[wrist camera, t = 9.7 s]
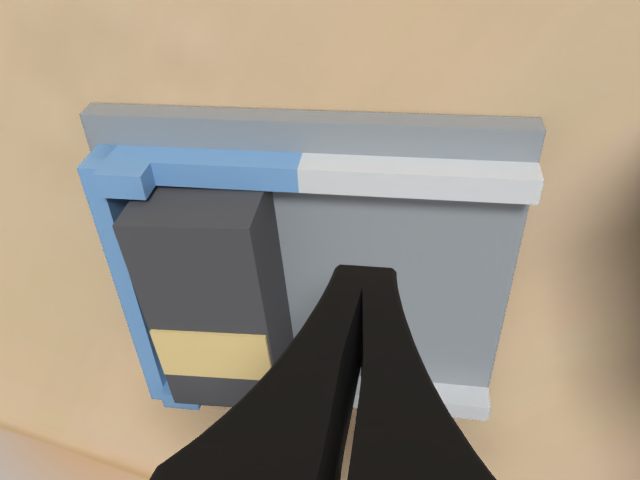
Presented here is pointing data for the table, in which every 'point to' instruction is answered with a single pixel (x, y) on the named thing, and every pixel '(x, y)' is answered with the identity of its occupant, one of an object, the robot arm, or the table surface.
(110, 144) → the tray
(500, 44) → the table surface
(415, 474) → the robot arm
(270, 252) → the block
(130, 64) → the table surface
